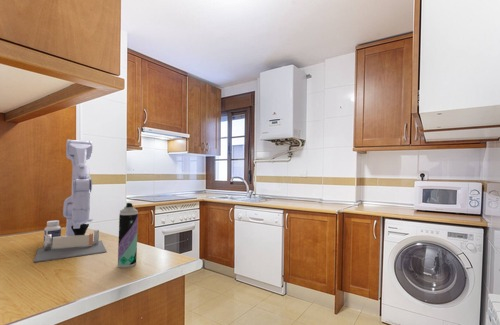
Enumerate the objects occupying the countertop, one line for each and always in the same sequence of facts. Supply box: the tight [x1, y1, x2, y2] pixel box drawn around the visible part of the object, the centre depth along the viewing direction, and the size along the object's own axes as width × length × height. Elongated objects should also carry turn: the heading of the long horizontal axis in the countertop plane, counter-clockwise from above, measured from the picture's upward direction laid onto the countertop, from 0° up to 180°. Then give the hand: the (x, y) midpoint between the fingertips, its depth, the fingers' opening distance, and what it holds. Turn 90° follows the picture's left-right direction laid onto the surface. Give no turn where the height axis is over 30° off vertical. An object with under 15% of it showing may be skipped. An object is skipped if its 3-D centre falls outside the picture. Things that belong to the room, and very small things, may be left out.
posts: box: [43, 229, 100, 251], centre depth 101 cm, size 2×17×6 cm, turn 125°
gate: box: [52, 232, 94, 248], centre depth 100 cm, size 13×1×5 cm, turn 113°
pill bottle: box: [43, 219, 62, 247], centre depth 104 cm, size 5×5×10 cm
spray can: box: [117, 202, 139, 269], centre depth 85 cm, size 6×6×20 cm
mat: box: [32, 240, 108, 264], centre depth 98 cm, size 18×21×1 cm
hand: (79, 243), depth 102 cm, fingers closed
